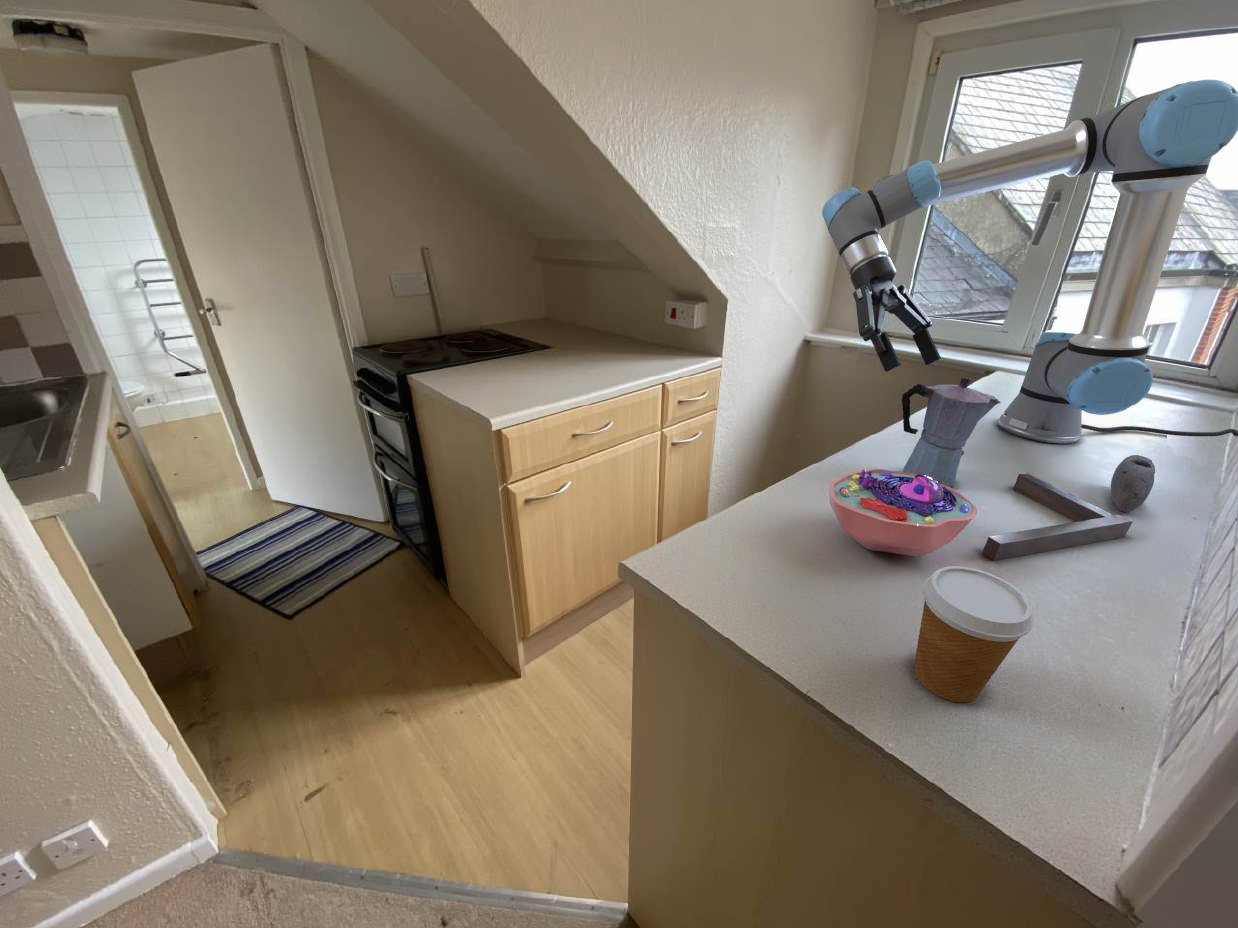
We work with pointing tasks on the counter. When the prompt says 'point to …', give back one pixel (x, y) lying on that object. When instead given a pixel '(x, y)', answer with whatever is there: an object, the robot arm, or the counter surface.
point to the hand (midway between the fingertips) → (914, 365)
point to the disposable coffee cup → (967, 630)
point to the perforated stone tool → (1132, 482)
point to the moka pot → (944, 427)
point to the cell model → (899, 511)
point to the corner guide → (1085, 530)
